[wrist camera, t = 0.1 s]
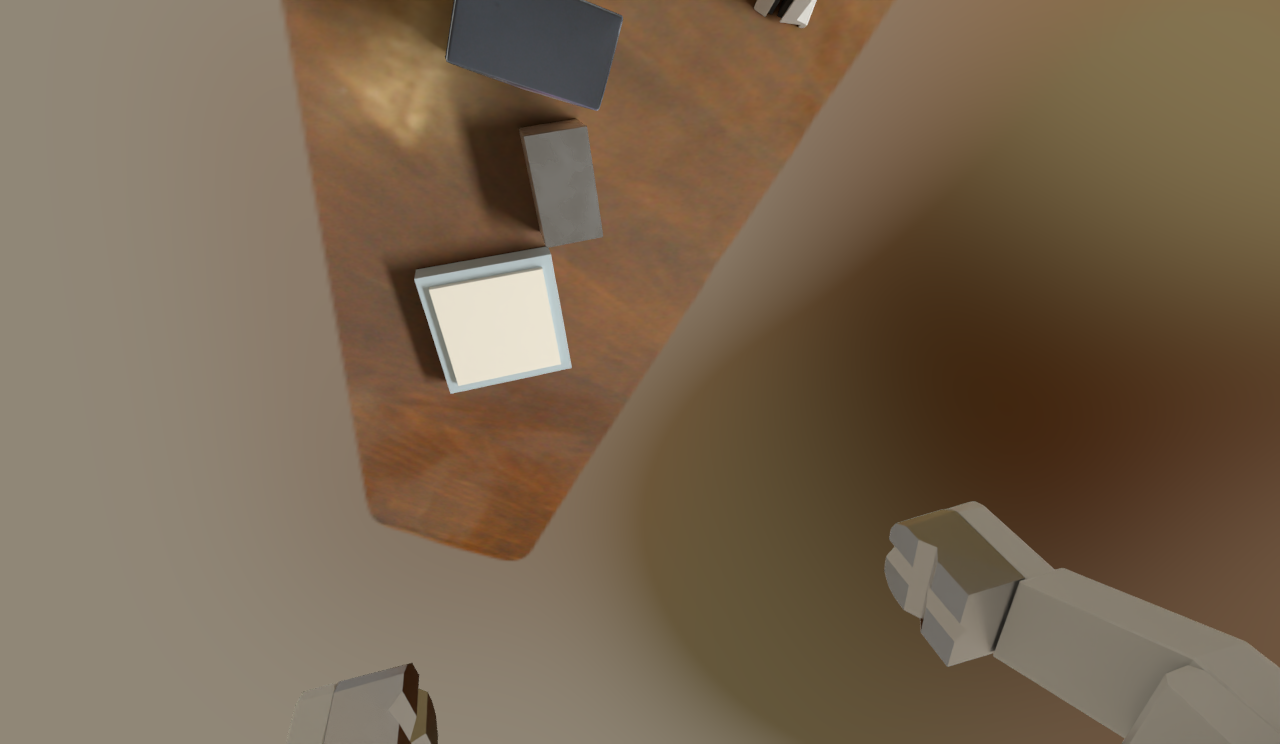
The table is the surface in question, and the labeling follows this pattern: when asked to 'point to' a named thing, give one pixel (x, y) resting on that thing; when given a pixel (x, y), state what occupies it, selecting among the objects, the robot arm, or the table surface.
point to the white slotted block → (788, 10)
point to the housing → (562, 181)
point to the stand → (495, 318)
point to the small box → (537, 45)
